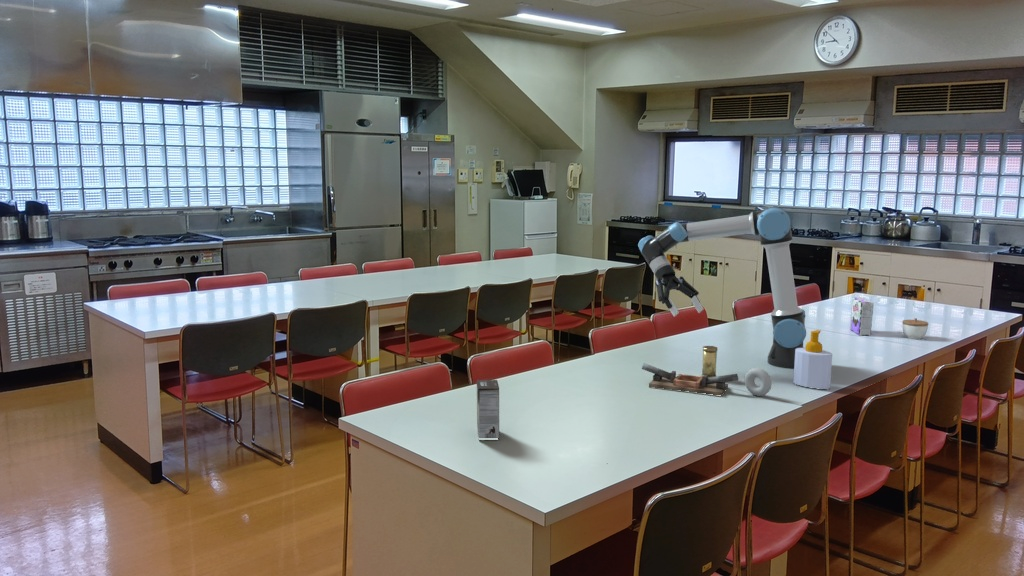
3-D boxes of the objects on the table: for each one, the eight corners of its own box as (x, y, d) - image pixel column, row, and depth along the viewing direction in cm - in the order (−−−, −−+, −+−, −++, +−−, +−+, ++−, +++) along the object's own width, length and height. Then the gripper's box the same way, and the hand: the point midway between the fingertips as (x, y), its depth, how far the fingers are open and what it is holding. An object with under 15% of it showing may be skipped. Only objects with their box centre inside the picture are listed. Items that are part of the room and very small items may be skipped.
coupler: (717, 377, 286) (718, 346, 284) (714, 380, 281) (715, 349, 279) (703, 375, 288) (704, 345, 286) (700, 379, 284) (701, 348, 282)
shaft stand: (740, 389, 270) (741, 369, 269) (734, 398, 259) (735, 378, 258) (646, 377, 285) (647, 359, 284) (637, 385, 275) (637, 366, 274)
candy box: (849, 329, 370) (852, 296, 368) (862, 330, 369) (864, 297, 367) (858, 335, 357) (860, 301, 354) (871, 336, 356) (874, 302, 353)
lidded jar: (931, 340, 347) (933, 320, 345) (908, 340, 347) (909, 320, 345) (919, 335, 357) (921, 316, 356) (897, 335, 357) (898, 316, 356)
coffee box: (476, 430, 228) (476, 379, 225) (497, 430, 229) (497, 379, 226) (477, 441, 219) (477, 388, 217) (499, 440, 220) (499, 387, 217)
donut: (772, 397, 260) (774, 370, 259) (767, 399, 258) (769, 371, 256) (747, 391, 268) (748, 364, 266) (741, 393, 265) (743, 366, 264)
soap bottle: (834, 387, 273) (837, 332, 270) (825, 392, 267) (829, 336, 264) (798, 380, 282) (801, 327, 278) (789, 384, 276) (792, 331, 273)
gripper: (679, 273, 309) (705, 314, 299) (634, 277, 296) (660, 321, 286) (689, 262, 304) (716, 303, 294) (644, 266, 291) (671, 310, 281)
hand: (689, 312), depth 290 cm, fingers open, 13 cm apart
